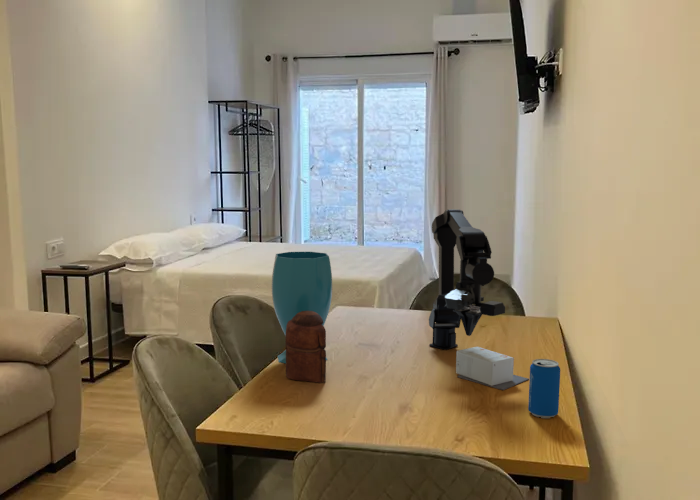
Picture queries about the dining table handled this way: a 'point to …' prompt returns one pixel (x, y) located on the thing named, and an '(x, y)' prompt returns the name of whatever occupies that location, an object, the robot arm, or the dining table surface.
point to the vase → (301, 286)
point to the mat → (503, 385)
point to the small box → (484, 365)
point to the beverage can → (544, 388)
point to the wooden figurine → (306, 348)
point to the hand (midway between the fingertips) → (468, 335)
